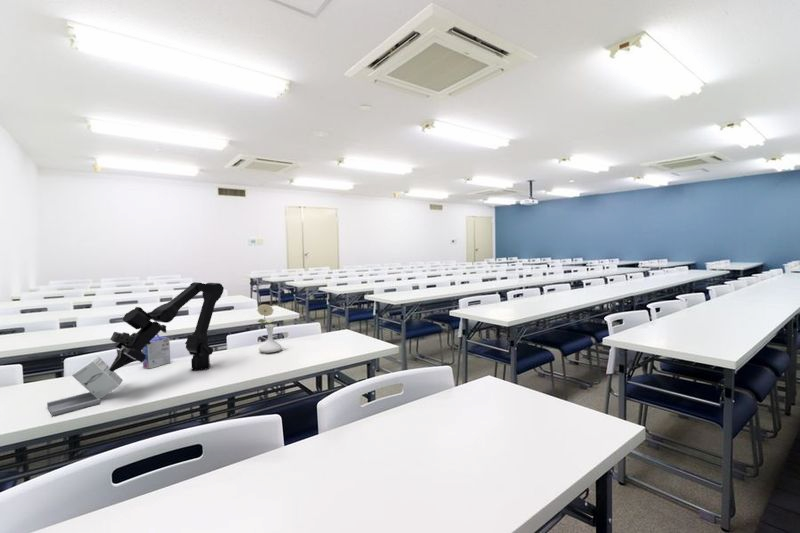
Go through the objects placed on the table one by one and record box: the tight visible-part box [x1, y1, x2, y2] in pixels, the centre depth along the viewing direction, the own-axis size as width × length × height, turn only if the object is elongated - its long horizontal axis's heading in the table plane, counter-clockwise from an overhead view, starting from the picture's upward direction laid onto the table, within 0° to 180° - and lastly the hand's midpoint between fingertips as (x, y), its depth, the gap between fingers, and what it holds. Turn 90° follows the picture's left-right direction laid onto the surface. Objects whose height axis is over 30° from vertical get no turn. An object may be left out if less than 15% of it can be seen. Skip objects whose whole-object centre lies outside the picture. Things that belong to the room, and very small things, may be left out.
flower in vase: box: [256, 304, 283, 354], centre depth 184 cm, size 13×11×25 cm
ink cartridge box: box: [141, 333, 171, 370], centre depth 163 cm, size 10×6×14 cm, turn 153°
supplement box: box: [71, 356, 124, 400], centre depth 128 cm, size 7×7×13 cm
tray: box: [46, 391, 101, 417], centre depth 121 cm, size 12×11×2 cm
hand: (110, 370), depth 129 cm, fingers closed
